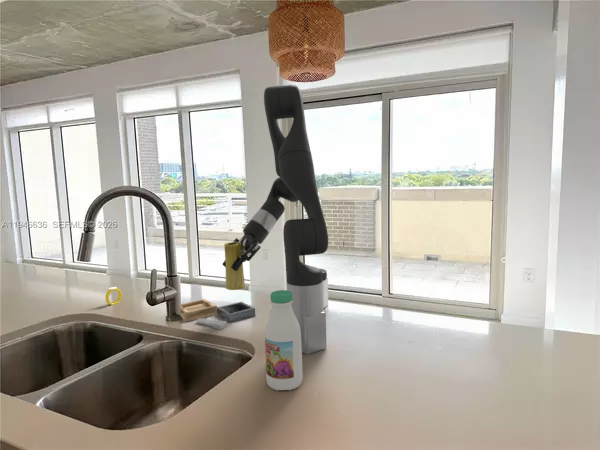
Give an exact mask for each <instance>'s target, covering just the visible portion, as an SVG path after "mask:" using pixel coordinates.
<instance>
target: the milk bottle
mask: <svg viewBox="0 0 600 450" xmlns="http://www.w3.org/2000/svg"><path fill="white" fill-rule="evenodd" d="M269 299H270V305H271V310H270V315H269V317H268V319H267V322H266V324H265V331H264V347H265V348H264V349H265V370H266V371H265V373H266V374H265V375H266V377H265V378H266V383H267V385H268V387H269V388H270V387H271V388H270V389H272V388H273V389H272V390H274V389H275V391H278V390H289V391H292V389H293V390H295V389H298V388H299V387H300V386H301V385H302V383H303V353H302V348H301V331H300V326H299V323H298V320H297V318H296V316H295V314H294V312H293V309H292V302H293V301H292V299H293V296H292V292H290V291H287V289H286V290H285V289H284V290H283V289H280V290H274V291H272V292H270V298H269Z"/></svg>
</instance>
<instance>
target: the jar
mask: <svg viewBox="0 0 600 450" xmlns="http://www.w3.org/2000/svg"><path fill="white" fill-rule="evenodd" d="M319 269H320V270H321V271H322V275H323V310H325V308H326V307H328V305H329V278H328V273H327V270H326V269H323V268H319Z"/></svg>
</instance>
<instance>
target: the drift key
mask: <svg viewBox="0 0 600 450" xmlns="http://www.w3.org/2000/svg"><path fill="white" fill-rule="evenodd" d="M195 321H196V322H195V323H196V324H199V325H203V326H207V327H210V328H211V327H212V328H213V329H216V330H223V329H224V328H227V327H228V321H224V320H212V319H208V318H205V317H203V318H199V319H195Z"/></svg>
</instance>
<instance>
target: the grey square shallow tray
mask: <svg viewBox="0 0 600 450" xmlns="http://www.w3.org/2000/svg"><path fill="white" fill-rule="evenodd" d="M216 315H217V316H218V317H221V318H222V319H224V320H225V321H226V322H229V323H231V322H232V323H233V322H236V321H240V320H243V319H247V318H251V317H255V316H256V308H255V307H253V306H251V305H250V304H247V303H245V302H244V301H239V302H235V303H229V304H227V305H222V306H217V314H216Z"/></svg>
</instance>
